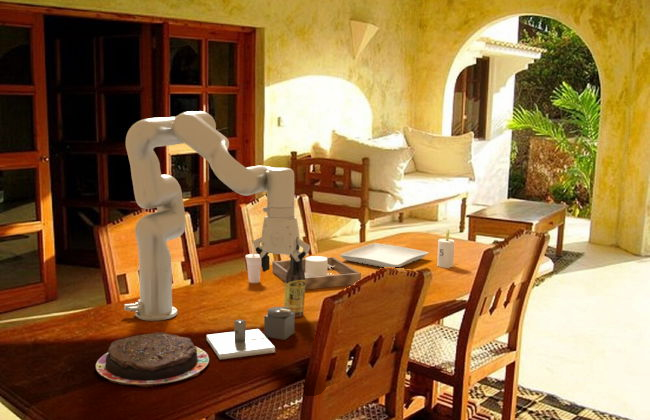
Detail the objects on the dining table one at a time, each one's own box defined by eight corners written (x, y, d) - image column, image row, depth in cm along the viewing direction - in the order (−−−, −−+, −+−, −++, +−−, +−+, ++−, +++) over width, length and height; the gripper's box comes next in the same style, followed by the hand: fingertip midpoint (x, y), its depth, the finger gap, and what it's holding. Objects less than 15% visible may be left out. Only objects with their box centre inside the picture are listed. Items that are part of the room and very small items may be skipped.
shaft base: (219, 359, 183) (219, 333, 181) (206, 340, 196) (206, 315, 195) (274, 352, 188) (275, 327, 187) (258, 333, 202) (258, 310, 201)
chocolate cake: (227, 374, 175) (227, 348, 174) (114, 399, 160) (113, 371, 159) (184, 339, 198) (184, 316, 197) (82, 358, 183) (81, 334, 182)
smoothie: (242, 282, 253) (242, 244, 251) (250, 278, 259) (250, 241, 257) (257, 285, 251) (258, 246, 249) (266, 280, 257) (266, 243, 254)
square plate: (373, 250, 309) (374, 241, 309) (429, 260, 294) (430, 251, 293) (338, 262, 288) (338, 252, 287) (396, 273, 272) (397, 263, 271)
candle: (433, 266, 283) (435, 229, 280) (442, 263, 288) (444, 227, 285) (447, 269, 279) (449, 231, 276) (456, 266, 284) (457, 229, 281)
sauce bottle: (289, 319, 215) (289, 256, 211) (280, 313, 220) (281, 251, 217) (308, 316, 218) (309, 254, 214) (299, 310, 223) (300, 249, 220)
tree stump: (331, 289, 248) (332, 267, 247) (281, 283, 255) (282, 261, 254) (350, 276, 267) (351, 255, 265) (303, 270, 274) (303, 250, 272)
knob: (263, 336, 200) (263, 310, 199) (274, 329, 206) (274, 303, 205) (284, 340, 197) (285, 313, 196) (295, 332, 204) (295, 307, 202)
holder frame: (295, 290, 245) (295, 279, 245) (272, 271, 269) (272, 261, 268) (360, 284, 255) (360, 273, 254) (332, 266, 279) (332, 256, 278)
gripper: (246, 212, 195) (247, 272, 198) (303, 216, 189) (303, 278, 192) (259, 208, 202) (260, 266, 205) (314, 212, 196) (314, 272, 199)
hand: (281, 272), depth 198 cm, fingers open, 9 cm apart
